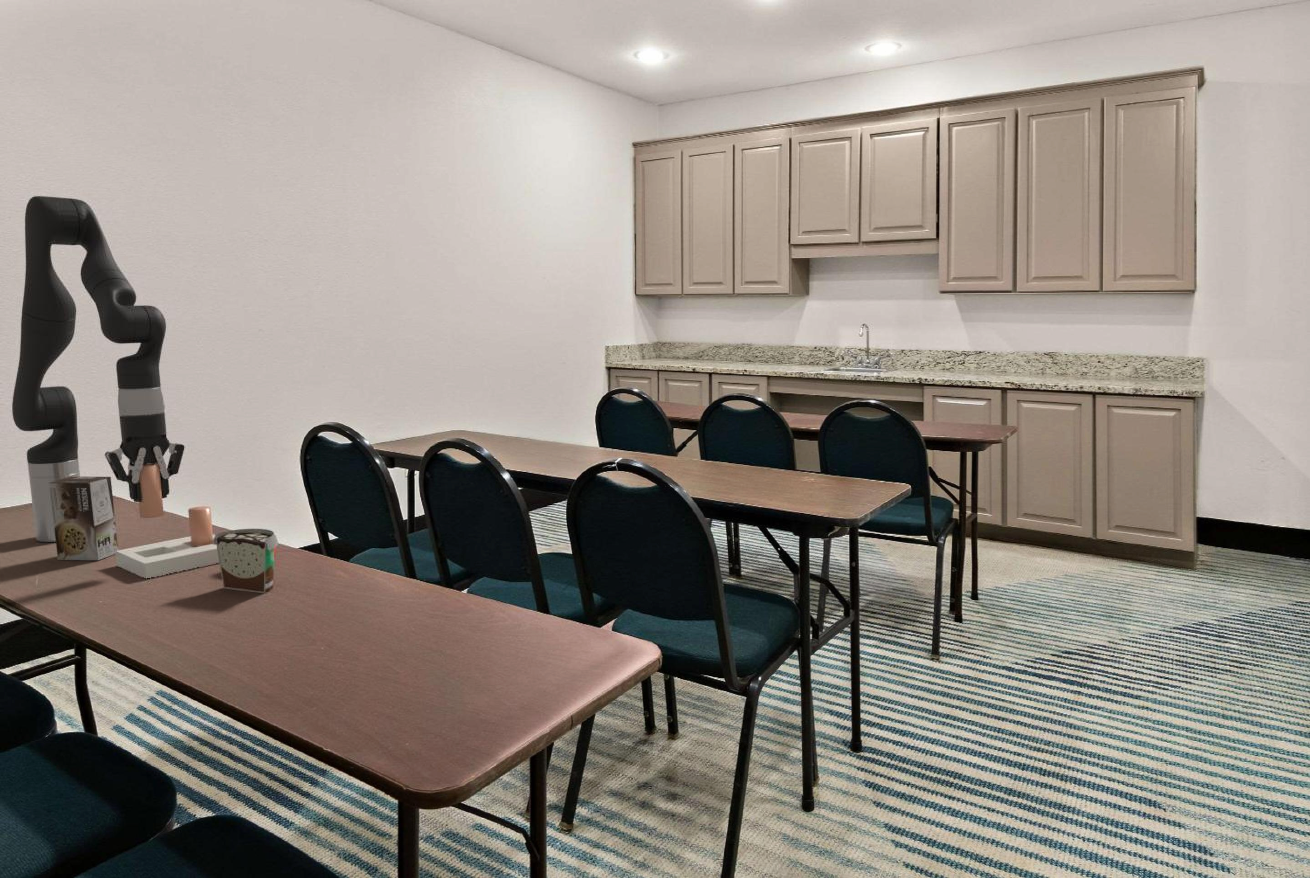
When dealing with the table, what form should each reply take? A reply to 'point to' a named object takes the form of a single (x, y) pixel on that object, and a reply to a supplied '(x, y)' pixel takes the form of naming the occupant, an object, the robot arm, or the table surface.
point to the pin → (150, 491)
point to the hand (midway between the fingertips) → (150, 499)
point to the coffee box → (83, 518)
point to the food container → (247, 559)
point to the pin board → (174, 550)
